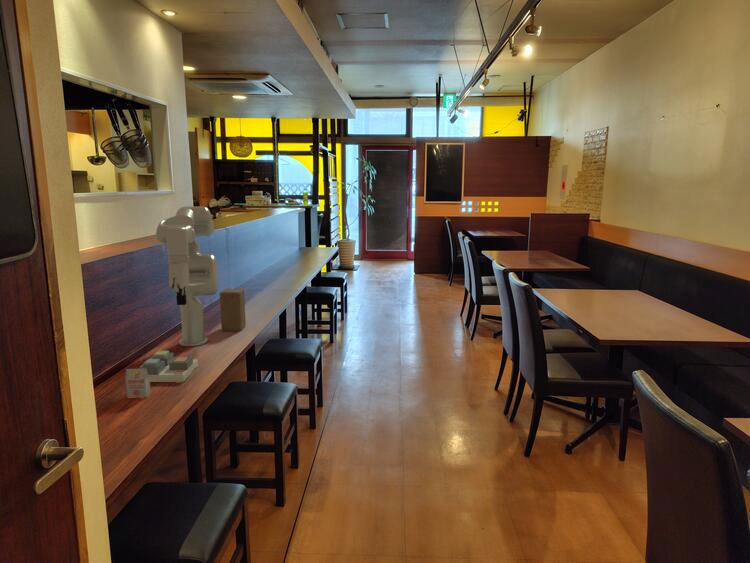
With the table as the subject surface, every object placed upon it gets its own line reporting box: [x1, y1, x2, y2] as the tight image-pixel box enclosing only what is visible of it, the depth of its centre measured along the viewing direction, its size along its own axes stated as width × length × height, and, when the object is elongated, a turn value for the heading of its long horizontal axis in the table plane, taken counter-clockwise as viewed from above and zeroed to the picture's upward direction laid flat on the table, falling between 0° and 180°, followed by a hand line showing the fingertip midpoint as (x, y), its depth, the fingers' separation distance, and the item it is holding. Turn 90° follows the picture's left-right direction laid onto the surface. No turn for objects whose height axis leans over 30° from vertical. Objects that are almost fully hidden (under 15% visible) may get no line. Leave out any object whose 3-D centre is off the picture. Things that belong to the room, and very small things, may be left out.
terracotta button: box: [173, 357, 189, 362], centre depth 183 cm, size 4×4×2 cm
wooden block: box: [219, 288, 247, 332], centre depth 242 cm, size 10×10×20 cm
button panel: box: [138, 352, 199, 382], centre depth 183 cm, size 16×16×6 cm
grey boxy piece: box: [124, 368, 152, 398], centre depth 164 cm, size 4×7×10 cm, turn 96°
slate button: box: [143, 358, 160, 366], centre depth 178 cm, size 4×4×2 cm
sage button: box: [153, 350, 170, 358], centre depth 187 cm, size 4×4×2 cm
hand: (181, 304), depth 189 cm, fingers closed
